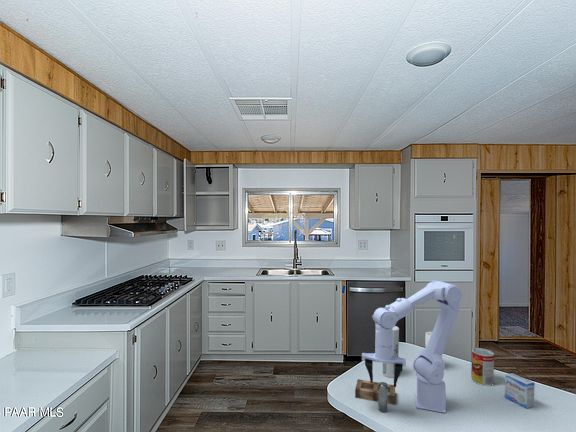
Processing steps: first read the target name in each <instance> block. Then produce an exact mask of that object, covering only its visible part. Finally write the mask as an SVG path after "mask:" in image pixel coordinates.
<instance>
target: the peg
mask: <svg viewBox="0 0 576 432" xmlns="http://www.w3.org/2000/svg"><path fill="white" fill-rule="evenodd" d="M378 383H379V402H378V401H377V402H378V405H377V406H378V407H377V408H378V412H380V413H385V414H386V413H388V406H389V405H388V404H389V403H388V384H389V383H387V382H386V381H385V382H384V381H380V382H378Z"/></svg>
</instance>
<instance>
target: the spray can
mask: <svg viewBox="0 0 576 432" xmlns="http://www.w3.org/2000/svg"><path fill="white" fill-rule="evenodd" d="M399 335H400V328H399V327H398V326H396V325H395V326H394V327H393V341H392V356H396V357H399V349H400V348H399V344H400V343H399V342H400V336H399ZM394 373H395V364H389V363H382V375H383V376H384V377H386V378H389V379H394Z"/></svg>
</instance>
